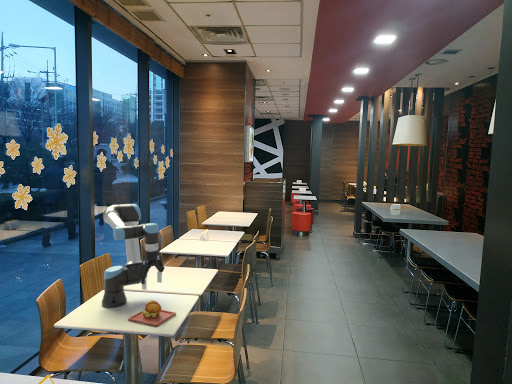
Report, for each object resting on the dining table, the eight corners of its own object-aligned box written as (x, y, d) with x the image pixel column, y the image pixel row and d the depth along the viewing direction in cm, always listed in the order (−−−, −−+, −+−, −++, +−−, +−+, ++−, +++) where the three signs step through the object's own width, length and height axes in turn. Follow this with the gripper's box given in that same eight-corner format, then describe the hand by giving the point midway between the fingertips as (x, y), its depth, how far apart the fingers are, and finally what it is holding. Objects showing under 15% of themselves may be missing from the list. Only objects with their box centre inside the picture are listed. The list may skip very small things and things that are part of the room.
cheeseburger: (153, 310, 224) (155, 295, 222) (163, 319, 218) (166, 304, 215) (138, 315, 216) (141, 300, 214) (149, 324, 210) (151, 309, 208)
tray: (128, 320, 211) (128, 318, 211) (149, 309, 228) (148, 307, 228) (156, 326, 204) (156, 324, 203) (175, 314, 220) (175, 312, 220)
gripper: (142, 255, 201) (142, 293, 202) (170, 246, 223) (170, 280, 225) (131, 254, 204) (131, 291, 205) (160, 245, 226) (160, 278, 228)
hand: (152, 285), depth 215 cm, fingers open, 13 cm apart
